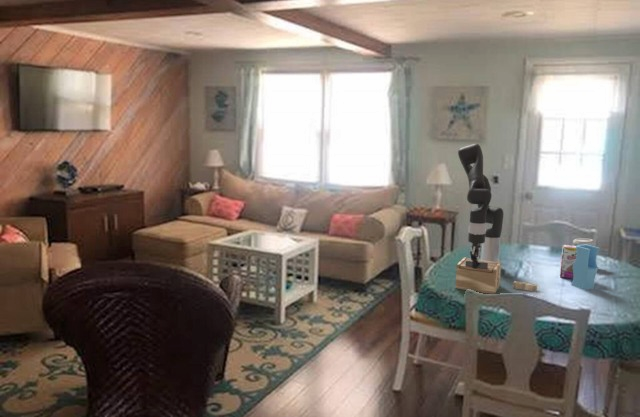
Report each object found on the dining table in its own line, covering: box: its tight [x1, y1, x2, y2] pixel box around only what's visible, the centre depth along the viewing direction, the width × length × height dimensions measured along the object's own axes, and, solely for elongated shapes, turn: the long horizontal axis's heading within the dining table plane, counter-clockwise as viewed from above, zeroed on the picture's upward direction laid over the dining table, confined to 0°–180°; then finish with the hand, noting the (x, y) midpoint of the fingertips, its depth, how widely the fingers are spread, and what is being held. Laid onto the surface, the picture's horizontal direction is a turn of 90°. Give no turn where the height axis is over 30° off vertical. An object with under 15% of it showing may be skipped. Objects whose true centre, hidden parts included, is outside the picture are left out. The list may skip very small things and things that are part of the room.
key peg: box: [512, 280, 538, 292], centre depth 263 cm, size 3×3×10 cm
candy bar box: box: [559, 244, 577, 280], centre depth 280 cm, size 11×5×16 cm, turn 71°
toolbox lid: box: [460, 257, 498, 272], centre depth 263 cm, size 15×15×4 cm
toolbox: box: [455, 256, 503, 295], centre depth 264 cm, size 15×18×12 cm
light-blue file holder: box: [570, 244, 601, 291], centre depth 265 cm, size 8×8×20 cm
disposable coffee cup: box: [572, 238, 595, 246], centre depth 302 cm, size 11×11×15 cm
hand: (474, 268), depth 254 cm, fingers closed
